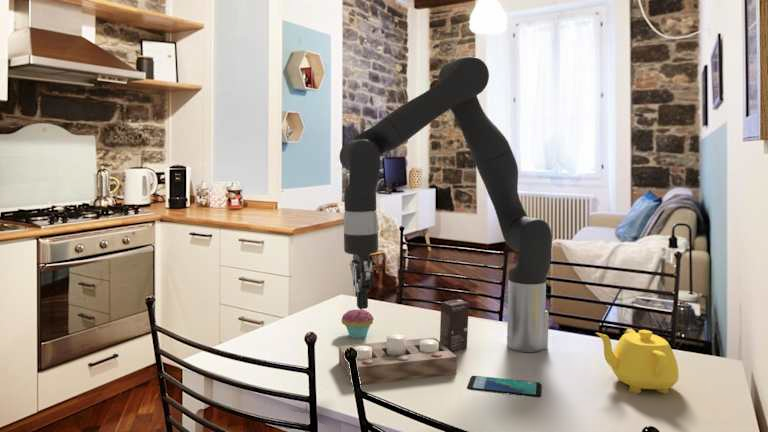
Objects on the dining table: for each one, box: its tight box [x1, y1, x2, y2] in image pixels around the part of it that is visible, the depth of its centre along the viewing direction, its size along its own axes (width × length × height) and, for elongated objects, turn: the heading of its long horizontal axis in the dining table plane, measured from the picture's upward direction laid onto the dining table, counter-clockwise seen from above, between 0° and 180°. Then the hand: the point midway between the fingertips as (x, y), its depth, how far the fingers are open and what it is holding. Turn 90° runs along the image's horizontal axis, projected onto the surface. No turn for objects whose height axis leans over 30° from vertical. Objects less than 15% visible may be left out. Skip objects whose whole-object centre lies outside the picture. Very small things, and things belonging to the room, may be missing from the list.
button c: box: [354, 346, 372, 360], centre depth 126 cm, size 4×4×4 cm
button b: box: [386, 333, 407, 357], centre depth 128 cm, size 4×4×4 cm
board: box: [338, 337, 458, 387], centre depth 129 cm, size 24×14×4 cm, turn 105°
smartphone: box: [466, 375, 542, 398], centre depth 118 cm, size 7×1×15 cm
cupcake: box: [341, 308, 375, 339], centre depth 152 cm, size 9×8×12 cm
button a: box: [420, 339, 440, 353], centre depth 131 cm, size 4×4×4 cm
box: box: [439, 298, 470, 352], centre depth 142 cm, size 6×4×12 cm
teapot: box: [595, 328, 680, 394], centre depth 119 cm, size 14×14×12 cm
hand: (362, 307), depth 125 cm, fingers closed
